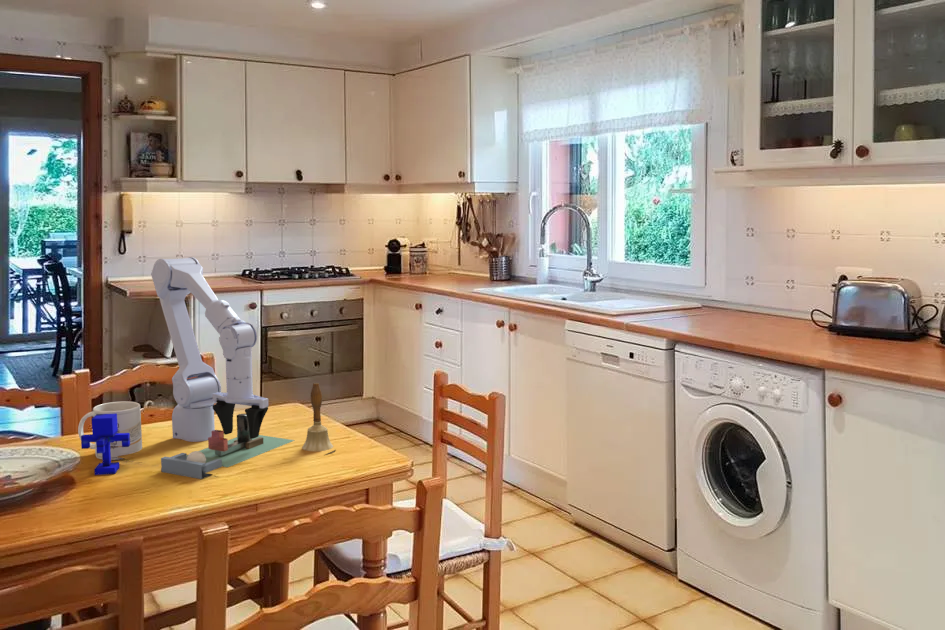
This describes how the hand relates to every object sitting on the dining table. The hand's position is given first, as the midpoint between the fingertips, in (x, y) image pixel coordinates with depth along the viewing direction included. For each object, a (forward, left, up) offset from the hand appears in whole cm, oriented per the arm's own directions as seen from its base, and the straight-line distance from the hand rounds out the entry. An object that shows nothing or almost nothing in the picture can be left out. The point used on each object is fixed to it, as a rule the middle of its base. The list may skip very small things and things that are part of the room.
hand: (241, 435), depth 191 cm
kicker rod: (0, -3, -3) cm, 4 cm away
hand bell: (+15, +9, -4) cm, 18 cm away
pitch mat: (0, -1, -4) cm, 4 cm away
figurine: (-16, -23, -4) cm, 29 cm away
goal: (0, -15, -4) cm, 16 cm away
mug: (-25, -13, -4) cm, 29 cm away
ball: (0, -14, -2) cm, 14 cm away
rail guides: (0, +3, -3) cm, 4 cm away
